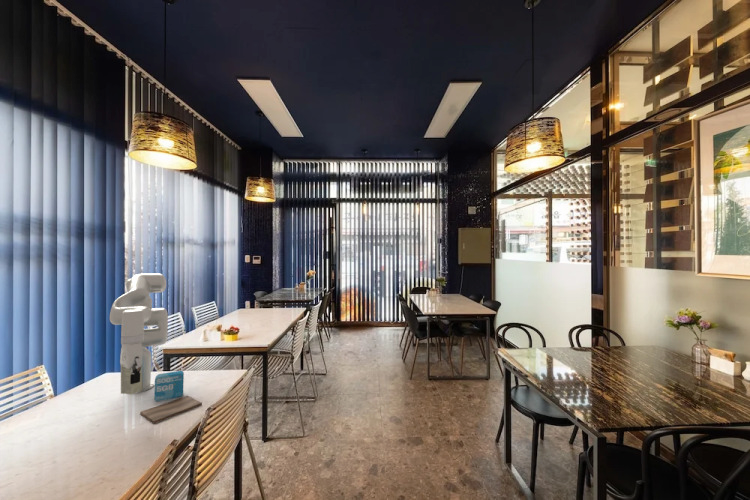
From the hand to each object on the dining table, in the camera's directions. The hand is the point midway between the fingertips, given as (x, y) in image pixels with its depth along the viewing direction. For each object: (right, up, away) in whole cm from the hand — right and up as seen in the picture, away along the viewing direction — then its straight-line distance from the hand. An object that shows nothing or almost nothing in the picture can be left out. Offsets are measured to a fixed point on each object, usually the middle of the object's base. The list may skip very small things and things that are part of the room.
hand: (131, 380), depth 129 cm
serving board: (+9, -19, +12) cm, 24 cm away
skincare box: (0, -5, 0) cm, 5 cm away
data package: (-1, -20, +25) cm, 32 cm away
